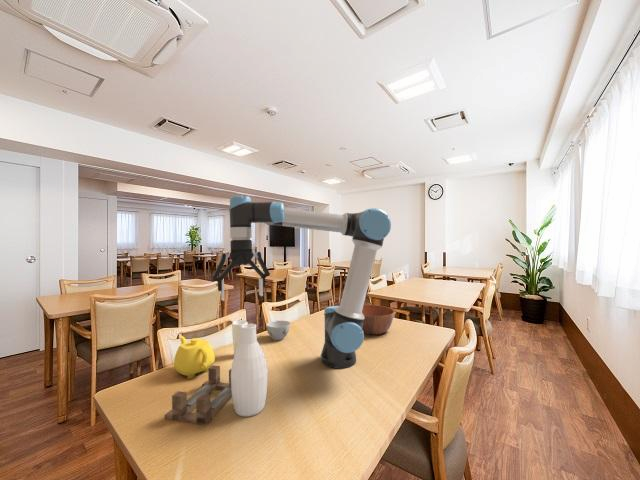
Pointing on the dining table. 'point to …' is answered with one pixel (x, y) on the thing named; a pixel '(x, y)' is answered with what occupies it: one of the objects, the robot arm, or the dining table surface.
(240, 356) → the bottle
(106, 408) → the dining table surface
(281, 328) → the teacup
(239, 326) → the white pillar candle
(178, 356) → the teapot
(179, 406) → the cradle
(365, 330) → the bowl
